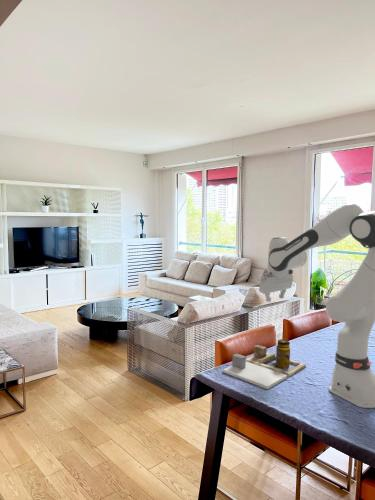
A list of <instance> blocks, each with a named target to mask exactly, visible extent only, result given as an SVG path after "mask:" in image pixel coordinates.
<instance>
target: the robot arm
mask: <svg viewBox="0 0 375 500" xmlns="http://www.w3.org/2000/svg"><path fill="white" fill-rule="evenodd" d="M349 235H351V237H352V238H353V239H354V240H355V241H356V242H358V243H360V245H361V246H363V247H364V248H365V249H368V251H367V253H366V255H365V257H364V259H363V260H362V262H361V264H360V265H359V266H358V269H357V271H356V272H355V274H354V275H353V277H352V278H351V279H350V280H349V281H348V282H347V283H346V284H345V285H344V286H343V287H342V289H340V290H339V291H338V292H337V293H336V294H334V295H332V296H331V297H330V298H328V299H327V301H326V303H325V311H326V314H327V317H329V319H331V320H332V321H334V322H336V323H337V322H339V323H345V324H344V325H343V327H342V328H341V329H340V330H339V331H338V334H337V341H336V342H337V343H336V344H337V346H336V351H335V354H334V361H335V365H334V368H333V370H332V375H331V376H332V377H331V382H330V386H329V387H328V391H329V392H330V393H332V394H334V395H336V396H338V397H340V398H342V399H343V400H345V401H347V402H348V403H351V404H353V405H355V406H357V407H359V408H365V409H375V373H374V372H373V370H372V369H371V366H372V364H373V362H372V361H370V360H369V356H368V352H369V350H368V349H369V339H370V335H371V332H372V330H373V327H374V325H375V210H371V211H367V212H365V211H364V210H363V209H362V208H361V207H360V206H359V205H357V204H356V203H346V204H344V205H342V206H340V207H338V208H337V209H335V210H333V211H331V213H329V214H327V216H325V217H324V218H323V219H321V220H320V221H319V222H317V223H316V224H314V225H313V226H312V227H311V228H309V229H308V230H307V231H305V232H303V233H302V234H300V235H298V236H297V237H295V238H294V239H293V240H291V241H290V240H289V238H288V237H286V236H281V237H274V238H273V237H272V238H271V239H270V241H269V245H268V252H267V255H268V261H267V270H266V271H267V272H266V273H263V275H262V276H261V278H260V279H259V281H260V282H259V286H258V291H259V293H261V294H264V296H265V301H266V302H267V303H268V302H272V297H271V296H270V295H271V293H275V292H279V291H280V293H279V294H278V297H279V299H285V294H286V292H287V289H291V288H292V286H293V281H294V279H293V278H294V276H293V274H294V269H296V268H298V269H299V268H302V267H303V266H304V265H305V263H306V262H307V253H306V251H308V250H310V249H313V248H319V247H324V246H325V247H326V246H330V245H331V246H332V245H334V244H336V243H339V242H341V241H342V240H344V239H345V238H347V237H348V236H349Z"/></svg>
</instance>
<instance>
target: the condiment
mask: <svg viewBox="0 0 375 500" xmlns="http://www.w3.org/2000/svg"><path fill="white" fill-rule="evenodd" d="M290 343H291V342H290V340H288V339H283V338H282V339H278V341H277V345H276V351H275V352H276V353H275V355H276V359H275V362H268V364H269V366H271V367H274V368H277V369H280V370H283V371H285V370H291V369H292V368H293V367H292V366H290V363H289V362H290V360H291V359H290V357H291V347H290V346H291V345H290Z"/></svg>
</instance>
